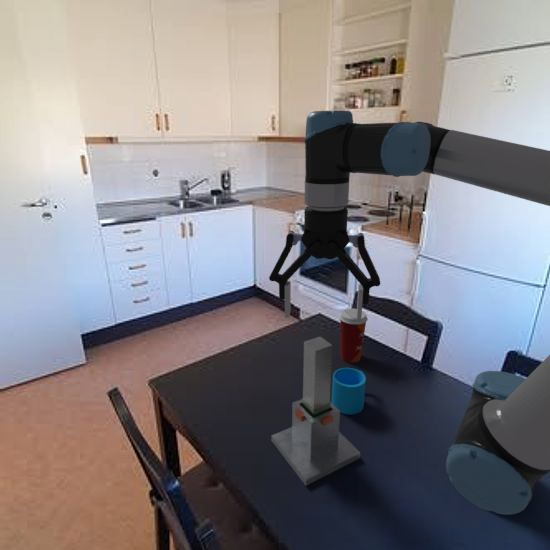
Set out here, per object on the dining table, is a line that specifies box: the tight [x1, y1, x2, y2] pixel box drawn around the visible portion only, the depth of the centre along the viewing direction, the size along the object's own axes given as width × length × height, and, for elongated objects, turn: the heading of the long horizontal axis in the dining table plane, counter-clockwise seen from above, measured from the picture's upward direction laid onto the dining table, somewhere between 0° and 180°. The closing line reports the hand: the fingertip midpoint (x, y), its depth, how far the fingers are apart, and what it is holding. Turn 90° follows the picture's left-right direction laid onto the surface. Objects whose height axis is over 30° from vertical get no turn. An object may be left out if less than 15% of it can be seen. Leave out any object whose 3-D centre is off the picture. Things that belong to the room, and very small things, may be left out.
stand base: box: [270, 398, 361, 487], centre depth 86 cm, size 14×14×12 cm
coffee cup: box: [339, 308, 368, 364], centre depth 120 cm, size 8×8×15 cm
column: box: [301, 336, 333, 418], centre depth 82 cm, size 4×4×19 cm
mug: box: [331, 367, 367, 416], centre depth 103 cm, size 12×8×8 cm
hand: (322, 316), depth 77 cm, fingers open, 13 cm apart
